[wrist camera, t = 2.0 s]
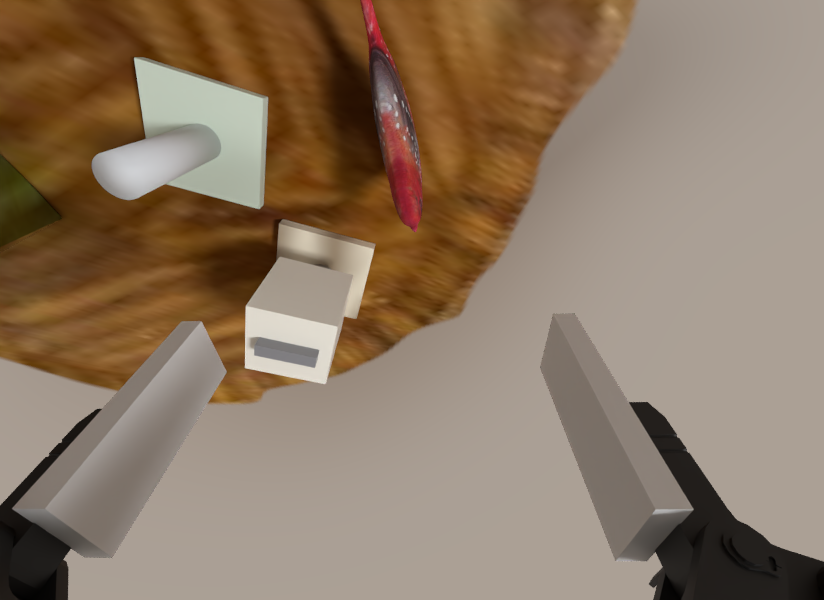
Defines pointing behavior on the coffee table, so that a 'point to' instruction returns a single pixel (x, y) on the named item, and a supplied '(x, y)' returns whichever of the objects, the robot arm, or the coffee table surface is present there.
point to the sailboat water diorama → (20, 208)
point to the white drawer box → (296, 320)
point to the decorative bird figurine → (394, 125)
